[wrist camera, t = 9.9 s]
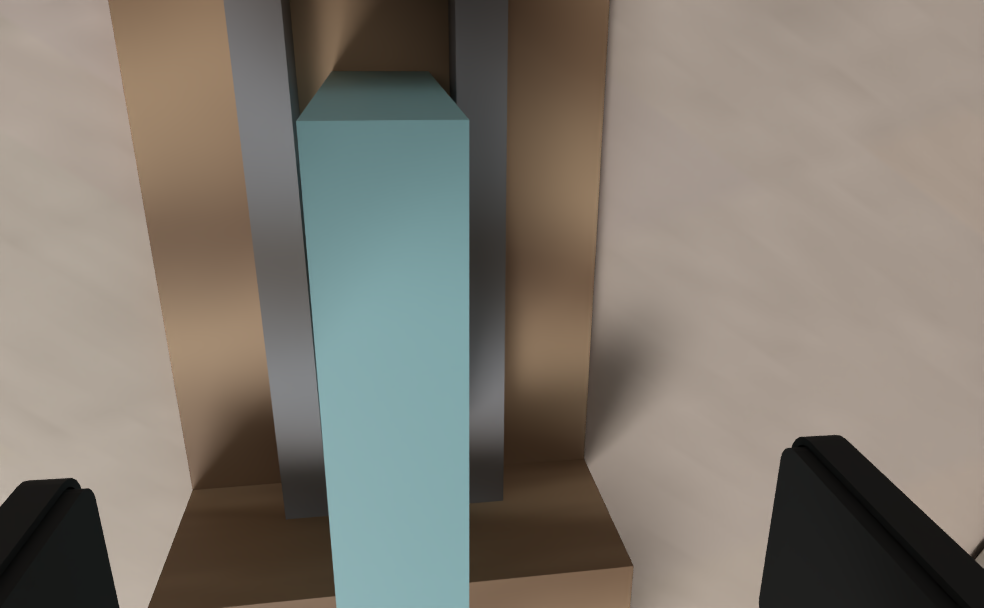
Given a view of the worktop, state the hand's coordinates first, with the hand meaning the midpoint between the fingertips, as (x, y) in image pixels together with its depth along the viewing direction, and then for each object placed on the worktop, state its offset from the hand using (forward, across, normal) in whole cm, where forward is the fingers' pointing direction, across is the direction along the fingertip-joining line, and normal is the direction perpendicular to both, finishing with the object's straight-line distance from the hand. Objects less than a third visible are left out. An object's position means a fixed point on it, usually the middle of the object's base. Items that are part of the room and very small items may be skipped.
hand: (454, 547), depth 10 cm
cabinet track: (+12, +1, -1) cm, 12 cm away
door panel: (+12, +1, -1) cm, 12 cm away
